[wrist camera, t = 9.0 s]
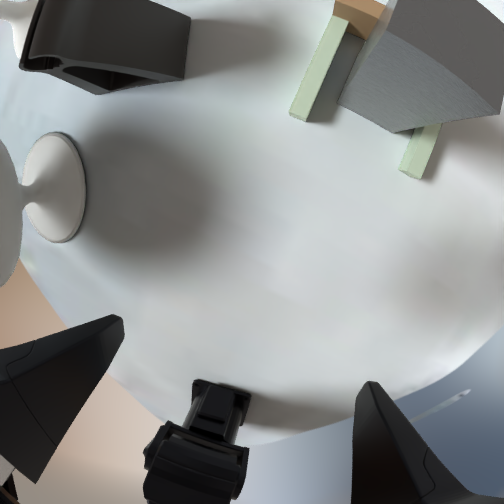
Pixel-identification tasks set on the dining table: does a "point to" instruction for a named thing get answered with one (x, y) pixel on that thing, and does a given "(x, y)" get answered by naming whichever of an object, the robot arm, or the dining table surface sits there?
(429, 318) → the dining table surface
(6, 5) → the flower in vase
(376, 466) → the robot arm
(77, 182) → the chalice
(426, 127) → the keeper
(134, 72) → the phone stand
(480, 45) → the block
